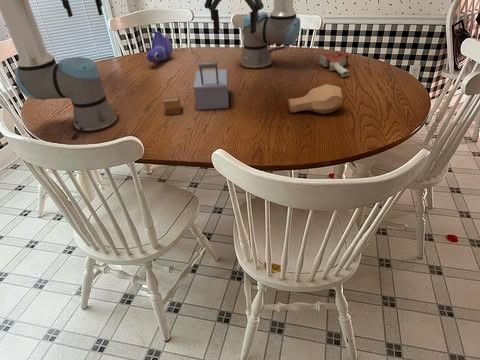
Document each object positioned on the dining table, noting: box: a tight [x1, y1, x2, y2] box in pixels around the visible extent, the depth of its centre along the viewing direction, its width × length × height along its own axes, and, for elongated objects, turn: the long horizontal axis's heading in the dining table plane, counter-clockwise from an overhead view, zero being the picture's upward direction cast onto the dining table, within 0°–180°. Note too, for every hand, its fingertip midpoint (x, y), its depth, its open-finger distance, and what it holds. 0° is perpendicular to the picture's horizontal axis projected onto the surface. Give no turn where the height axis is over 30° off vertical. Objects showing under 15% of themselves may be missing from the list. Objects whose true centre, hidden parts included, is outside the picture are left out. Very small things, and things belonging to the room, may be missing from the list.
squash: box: [287, 83, 344, 115], centre depth 129 cm, size 11×20×9 cm, turn 92°
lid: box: [193, 61, 228, 90], centre depth 136 cm, size 18×12×9 cm
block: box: [162, 94, 182, 116], centre depth 136 cm, size 6×6×6 cm
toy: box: [145, 30, 174, 68], centre depth 184 cm, size 10×17×25 cm
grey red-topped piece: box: [318, 51, 350, 78], centre depth 164 cm, size 18×5×20 cm
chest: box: [193, 81, 230, 111], centre depth 142 cm, size 17×12×9 cm
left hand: (85, 15), depth 157 cm, fingers open, 13 cm apart
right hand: (234, 31), depth 121 cm, fingers open, 13 cm apart
